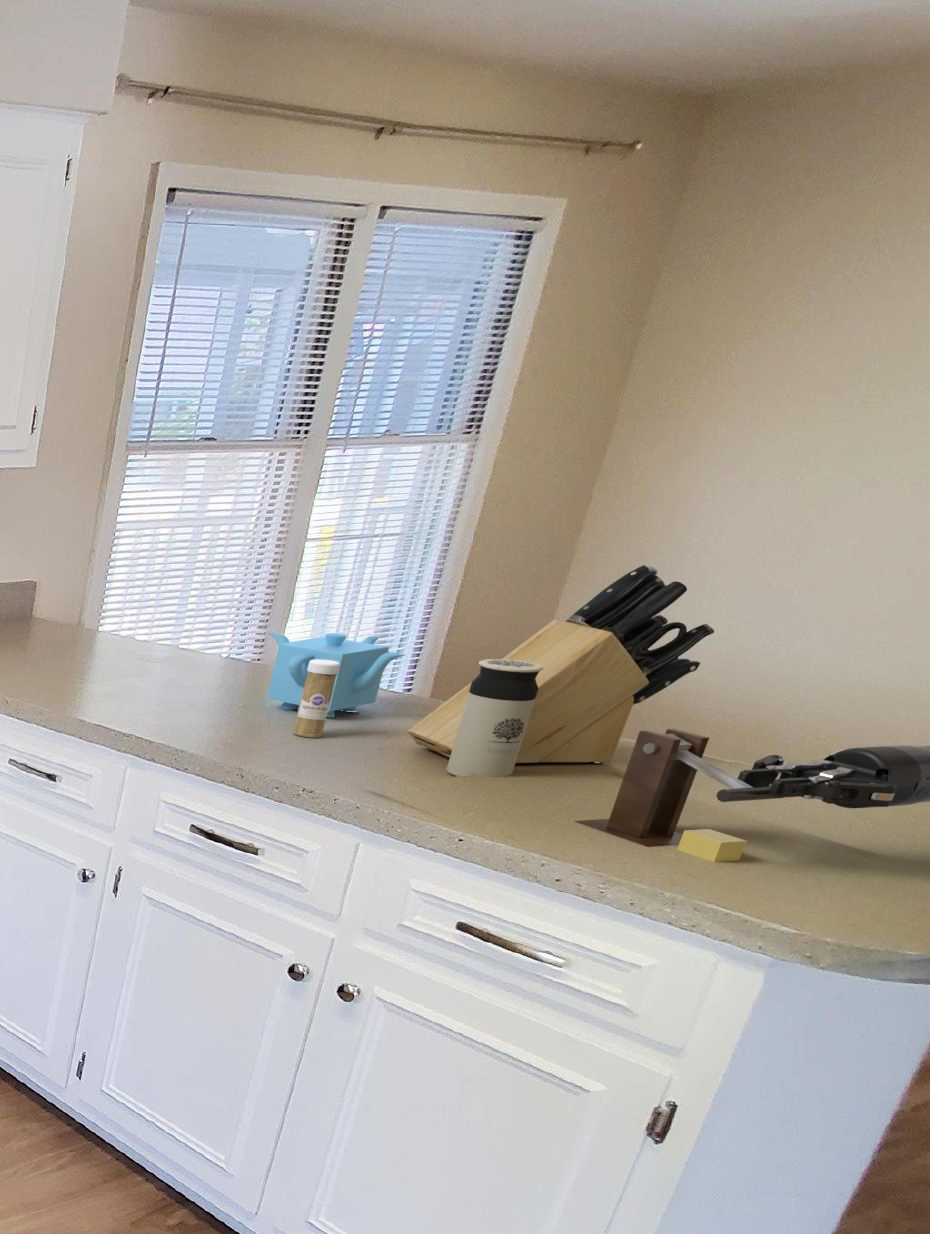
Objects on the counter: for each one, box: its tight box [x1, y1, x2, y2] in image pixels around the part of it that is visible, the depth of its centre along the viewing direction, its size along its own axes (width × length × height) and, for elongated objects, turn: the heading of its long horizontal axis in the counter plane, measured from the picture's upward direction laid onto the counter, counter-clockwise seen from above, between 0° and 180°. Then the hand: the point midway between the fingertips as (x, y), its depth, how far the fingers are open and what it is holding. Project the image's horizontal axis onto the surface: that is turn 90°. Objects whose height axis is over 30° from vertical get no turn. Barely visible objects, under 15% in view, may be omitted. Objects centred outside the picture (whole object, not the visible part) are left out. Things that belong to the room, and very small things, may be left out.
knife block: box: [407, 563, 715, 764], centre depth 180 cm, size 11×35×31 cm, turn 88°
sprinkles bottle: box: [292, 659, 340, 739], centre depth 197 cm, size 5×5×14 cm
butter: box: [677, 828, 748, 863], centre depth 141 cm, size 7×7×4 cm
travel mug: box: [446, 658, 543, 778], centre depth 173 cm, size 8×8×18 cm
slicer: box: [573, 728, 710, 848], centre depth 147 cm, size 10×9×15 cm
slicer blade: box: [661, 733, 779, 803], centre depth 141 cm, size 13×8×2 cm, turn 7°
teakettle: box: [266, 632, 406, 717], centre depth 213 cm, size 19×19×15 cm
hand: (758, 784), depth 136 cm, fingers open, 3 cm apart
